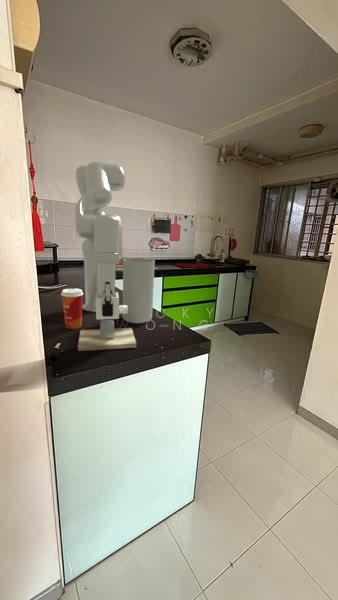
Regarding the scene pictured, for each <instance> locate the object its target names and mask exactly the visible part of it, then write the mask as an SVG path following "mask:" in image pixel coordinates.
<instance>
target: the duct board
mask: <svg viewBox="0 0 338 600" xmlns="http://www.w3.org/2000/svg"><path fill="white" fill-rule="evenodd" d="M132 348H133V349H134V348H135V349H136V348H137V340H136V338H135V334H134V331H133V327H124V328H114V339H101V328H98V329H96V328H95V329H80V331H79V337H78V343H77V352H84V351H85V352H86V351H100V350H101V351H103V350H117V349H118V350H119V349H132Z"/></svg>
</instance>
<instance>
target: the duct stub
mask: <svg viewBox="0 0 338 600" xmlns="http://www.w3.org/2000/svg"><path fill="white" fill-rule="evenodd" d="M99 320H100V328H99V329H101V339H114V329H115V321H114V320H115V319H99Z"/></svg>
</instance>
